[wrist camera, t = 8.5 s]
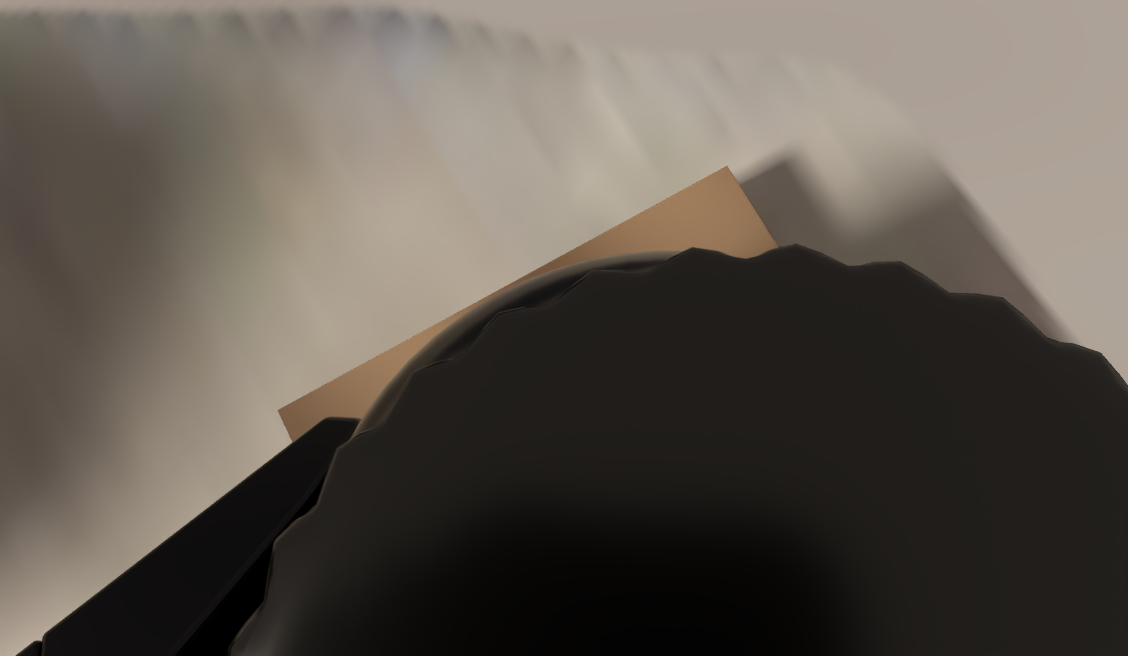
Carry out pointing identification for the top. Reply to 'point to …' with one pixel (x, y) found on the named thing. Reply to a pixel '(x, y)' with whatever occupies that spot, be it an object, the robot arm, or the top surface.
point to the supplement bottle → (721, 476)
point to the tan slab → (677, 223)
